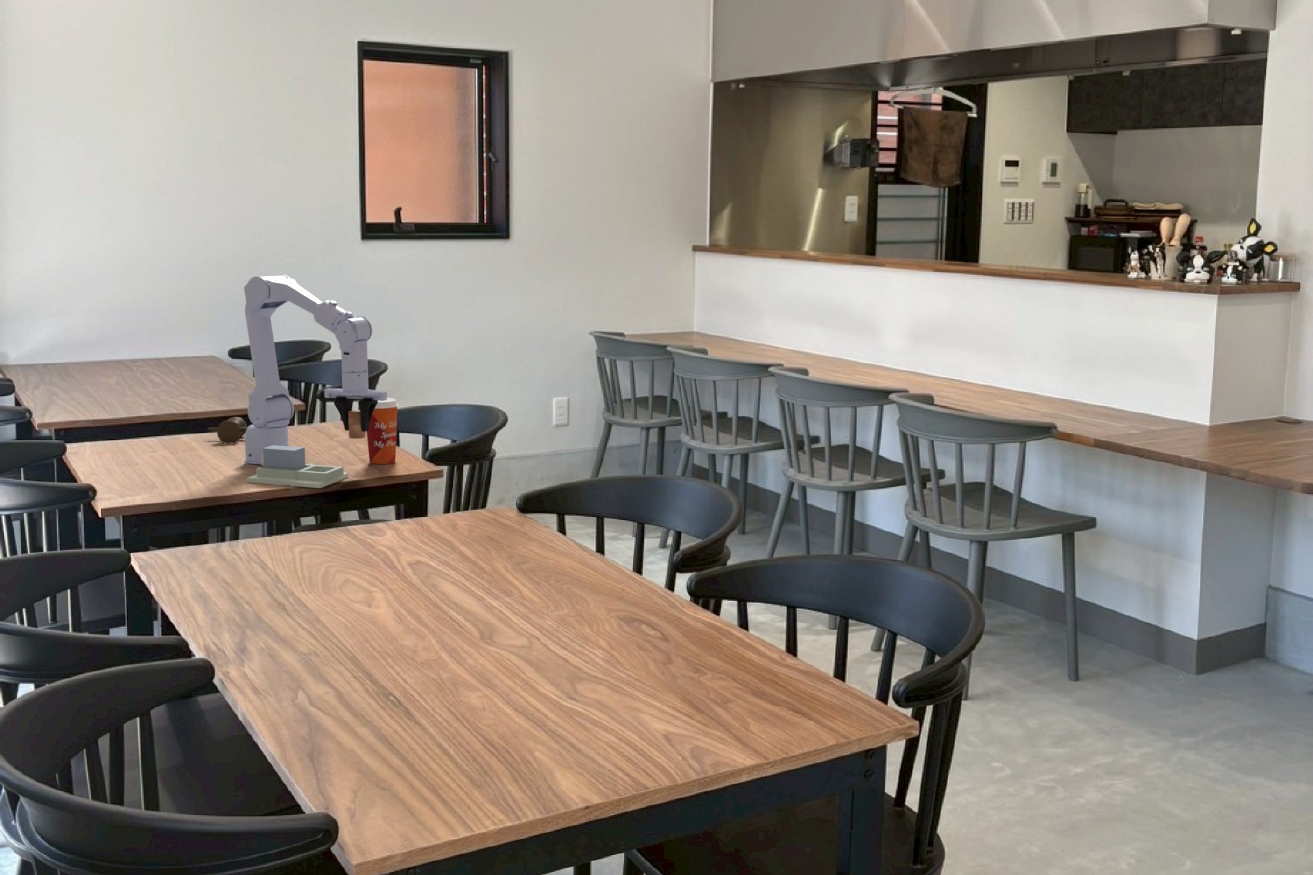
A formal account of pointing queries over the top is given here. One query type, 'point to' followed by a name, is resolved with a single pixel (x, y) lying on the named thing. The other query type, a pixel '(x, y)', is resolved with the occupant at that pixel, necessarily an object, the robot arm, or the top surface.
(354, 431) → the tail peg
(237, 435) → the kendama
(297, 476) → the tray
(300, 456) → the grey-blue box block
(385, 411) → the coffee cup
